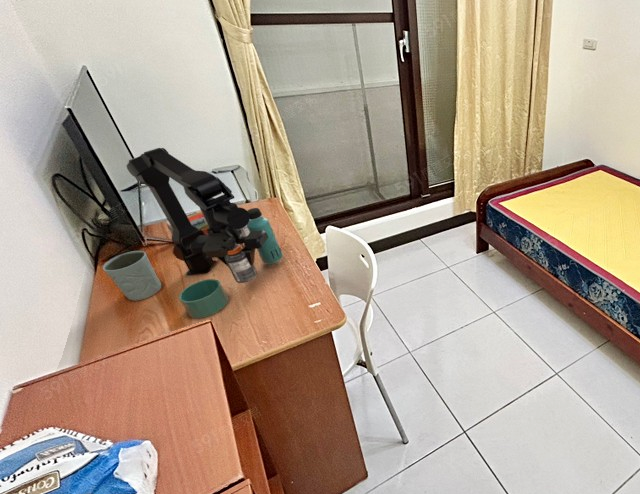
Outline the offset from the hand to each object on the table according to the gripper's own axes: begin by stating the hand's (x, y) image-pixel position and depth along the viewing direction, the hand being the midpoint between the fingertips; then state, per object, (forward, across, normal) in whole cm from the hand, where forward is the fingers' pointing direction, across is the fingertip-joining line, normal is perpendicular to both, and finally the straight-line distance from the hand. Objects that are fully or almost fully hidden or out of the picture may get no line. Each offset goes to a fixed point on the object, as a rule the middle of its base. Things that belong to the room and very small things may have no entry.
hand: (241, 265), depth 118 cm
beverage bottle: (+9, +1, +14) cm, 17 cm away
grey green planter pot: (+9, -34, +4) cm, 36 cm away
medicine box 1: (+10, -34, +37) cm, 51 cm away
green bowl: (+9, -10, -6) cm, 15 cm away
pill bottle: (+5, 0, 0) cm, 5 cm away
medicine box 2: (+9, -14, +30) cm, 34 cm away
